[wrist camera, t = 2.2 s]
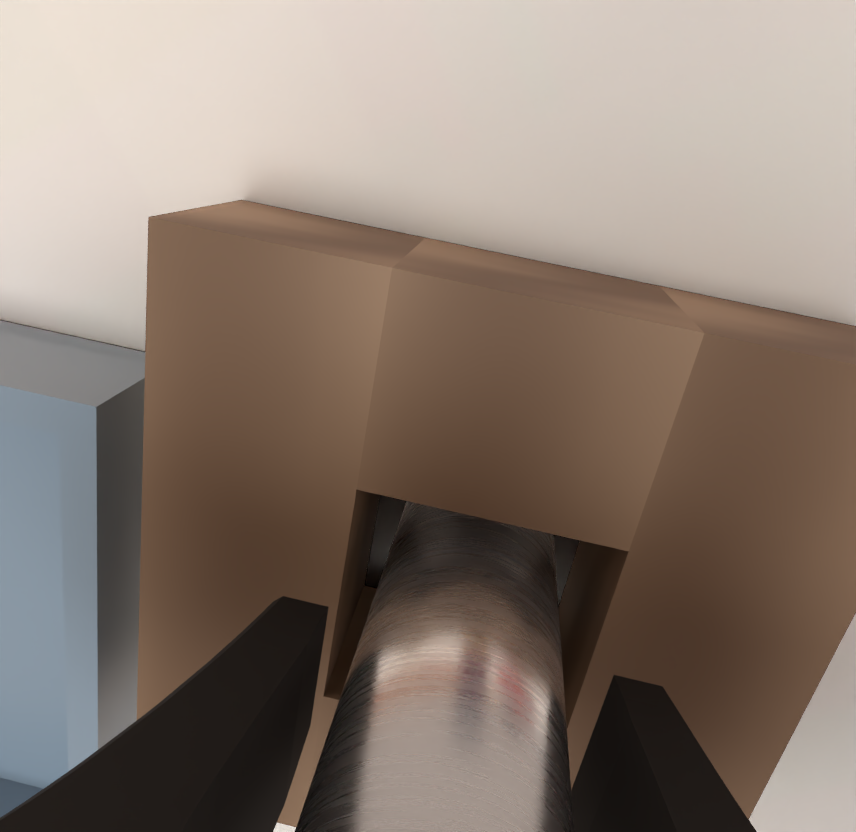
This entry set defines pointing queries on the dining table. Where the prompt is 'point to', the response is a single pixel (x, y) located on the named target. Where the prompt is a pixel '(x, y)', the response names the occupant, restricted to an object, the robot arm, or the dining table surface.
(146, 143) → the dining table surface
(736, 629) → the pin block
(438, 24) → the dining table surface
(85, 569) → the tray
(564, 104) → the dining table surface
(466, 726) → the lock pin
